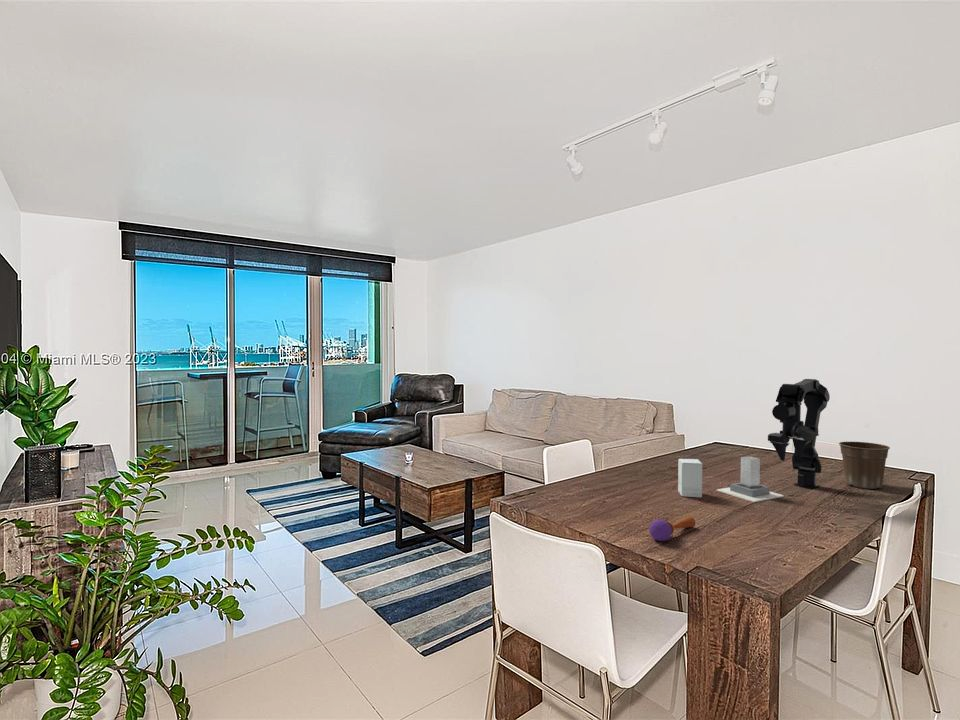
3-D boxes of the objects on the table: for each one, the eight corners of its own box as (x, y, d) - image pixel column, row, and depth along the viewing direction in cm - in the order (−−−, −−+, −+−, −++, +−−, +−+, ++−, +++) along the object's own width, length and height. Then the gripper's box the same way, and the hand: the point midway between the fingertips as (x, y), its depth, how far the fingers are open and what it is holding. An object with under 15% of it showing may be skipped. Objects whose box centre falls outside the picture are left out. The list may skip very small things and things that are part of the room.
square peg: (749, 490, 199) (749, 456, 199) (759, 493, 195) (759, 458, 195) (740, 491, 198) (740, 457, 197) (750, 494, 194) (750, 459, 193)
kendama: (701, 516, 159) (666, 527, 146) (697, 535, 160) (661, 546, 147) (683, 508, 164) (648, 517, 151) (679, 526, 165) (643, 536, 152)
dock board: (745, 487, 207) (745, 478, 207) (783, 498, 193) (784, 488, 193) (716, 492, 200) (716, 482, 200) (754, 504, 186) (754, 494, 186)
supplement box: (702, 497, 191) (702, 463, 191) (681, 496, 193) (681, 462, 192) (698, 492, 198) (698, 459, 198) (677, 490, 200) (678, 458, 199)
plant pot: (832, 478, 217) (833, 439, 217) (879, 481, 212) (880, 442, 212) (845, 488, 202) (846, 447, 202) (896, 492, 197) (897, 450, 196)
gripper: (796, 422, 183) (795, 466, 184) (829, 419, 191) (828, 461, 192) (767, 418, 193) (766, 460, 194) (799, 415, 201) (798, 455, 202)
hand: (790, 459), depth 195 cm, fingers open, 9 cm apart
